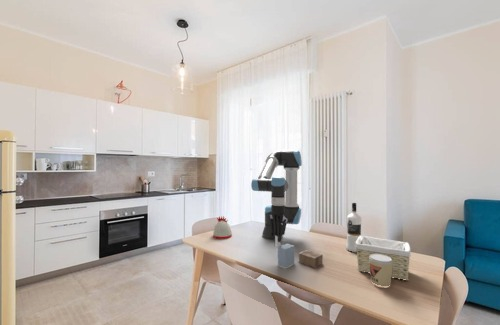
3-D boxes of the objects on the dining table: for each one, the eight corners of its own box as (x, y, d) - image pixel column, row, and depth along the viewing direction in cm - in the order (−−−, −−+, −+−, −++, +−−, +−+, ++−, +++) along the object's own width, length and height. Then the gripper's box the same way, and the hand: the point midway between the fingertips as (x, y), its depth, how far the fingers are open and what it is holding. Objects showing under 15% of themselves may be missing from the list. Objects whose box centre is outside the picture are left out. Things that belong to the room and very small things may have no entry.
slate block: (287, 261, 133) (287, 243, 133) (294, 264, 129) (294, 245, 129) (277, 265, 127) (278, 246, 127) (285, 268, 124) (285, 249, 124)
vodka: (365, 251, 148) (365, 203, 148) (353, 253, 145) (353, 204, 145) (354, 247, 157) (354, 201, 157) (342, 248, 153) (343, 202, 154)
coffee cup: (364, 279, 113) (365, 253, 113) (383, 278, 113) (383, 253, 113) (377, 289, 103) (377, 261, 103) (397, 288, 104) (397, 261, 104)
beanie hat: (216, 233, 186) (216, 213, 186) (233, 233, 184) (233, 214, 184) (210, 238, 172) (211, 217, 172) (229, 239, 170) (229, 218, 171)
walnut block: (306, 249, 137) (322, 254, 130) (306, 258, 137) (322, 263, 130) (298, 253, 132) (314, 258, 125) (298, 262, 132) (314, 268, 125)
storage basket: (354, 271, 121) (354, 242, 121) (359, 260, 135) (359, 234, 135) (411, 284, 108) (411, 251, 108) (409, 271, 122) (409, 242, 122)
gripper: (264, 203, 135) (264, 245, 134) (283, 207, 125) (282, 251, 125) (273, 202, 140) (273, 242, 140) (291, 205, 130) (291, 248, 130)
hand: (277, 247), depth 132 cm, fingers closed
